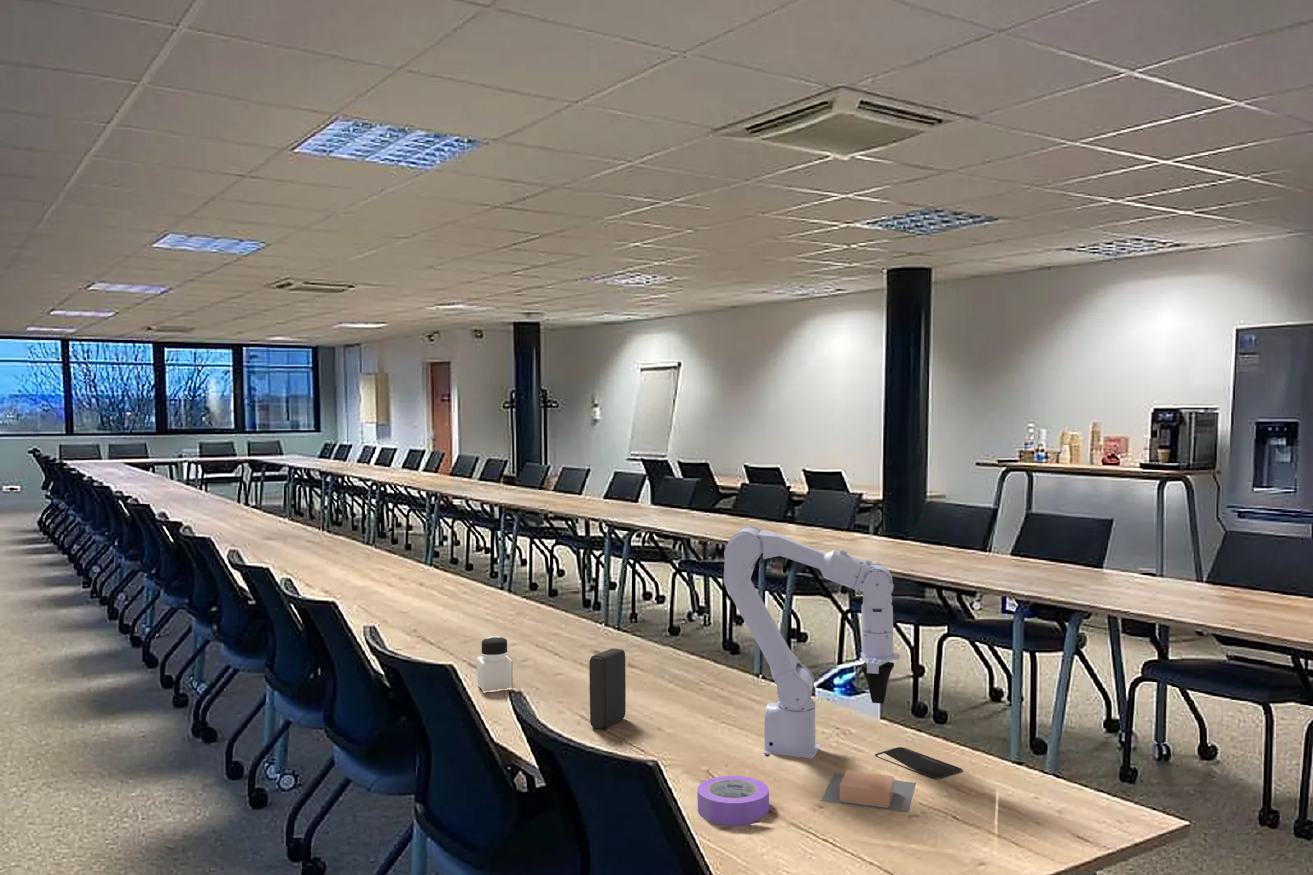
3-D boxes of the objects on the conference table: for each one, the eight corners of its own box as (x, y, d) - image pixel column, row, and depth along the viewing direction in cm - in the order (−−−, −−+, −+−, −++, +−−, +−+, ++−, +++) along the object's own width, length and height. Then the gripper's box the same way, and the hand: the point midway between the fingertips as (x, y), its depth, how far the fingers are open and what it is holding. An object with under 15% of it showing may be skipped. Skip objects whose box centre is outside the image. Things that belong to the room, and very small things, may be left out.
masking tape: (682, 811, 153) (682, 788, 153) (729, 791, 161) (729, 769, 161) (737, 834, 145) (737, 809, 145) (784, 811, 153) (783, 788, 153)
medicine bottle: (512, 690, 223) (512, 640, 222) (482, 694, 220) (482, 643, 220) (506, 682, 229) (505, 633, 229) (477, 686, 227) (476, 636, 226)
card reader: (612, 715, 203) (611, 646, 203) (627, 718, 201) (627, 648, 201) (587, 727, 195) (586, 655, 195) (603, 730, 193) (603, 658, 193)
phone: (936, 779, 164) (872, 754, 176) (936, 786, 164) (872, 760, 176) (966, 769, 168) (901, 746, 180) (966, 776, 168) (901, 751, 180)
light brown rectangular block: (846, 786, 161) (839, 801, 155) (846, 770, 161) (839, 785, 155) (894, 792, 158) (889, 808, 152) (894, 776, 158) (889, 791, 152)
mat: (820, 804, 155) (820, 800, 155) (834, 776, 167) (834, 772, 167) (908, 816, 150) (908, 812, 150) (915, 786, 162) (915, 782, 162)
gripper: (894, 640, 168) (895, 715, 168) (903, 623, 181) (904, 693, 182) (854, 637, 170) (855, 712, 171) (866, 621, 184) (867, 690, 184)
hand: (878, 702), depth 176 cm, fingers closed
